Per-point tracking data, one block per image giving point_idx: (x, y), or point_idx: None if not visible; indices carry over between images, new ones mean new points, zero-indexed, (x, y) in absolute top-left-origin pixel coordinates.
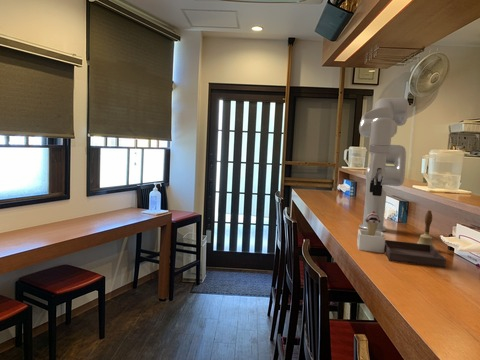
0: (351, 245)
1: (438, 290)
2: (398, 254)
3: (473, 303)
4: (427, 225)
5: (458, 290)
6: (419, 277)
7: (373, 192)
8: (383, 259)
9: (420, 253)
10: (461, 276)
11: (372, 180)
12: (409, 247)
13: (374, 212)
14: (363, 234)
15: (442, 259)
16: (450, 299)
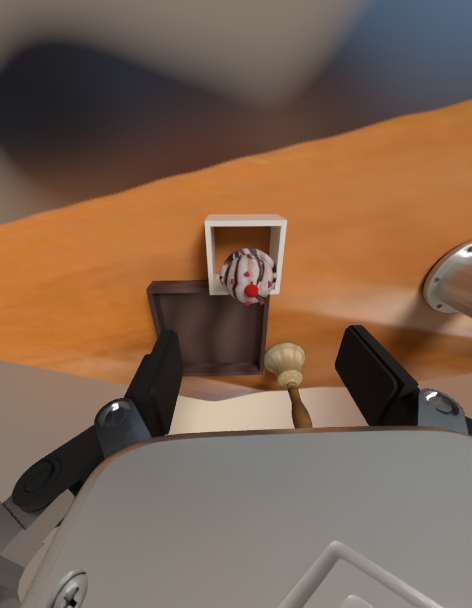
0: (247, 194)
1: (37, 333)
2: (150, 305)
3: (22, 362)
4: (292, 402)
5: (63, 358)
6: (82, 319)
7: (157, 345)
8: (157, 270)
9: (235, 346)
10: None
11: (412, 419)
12: (260, 334)
13: (246, 295)
14: (276, 236)
15: None
16: (9, 340)
